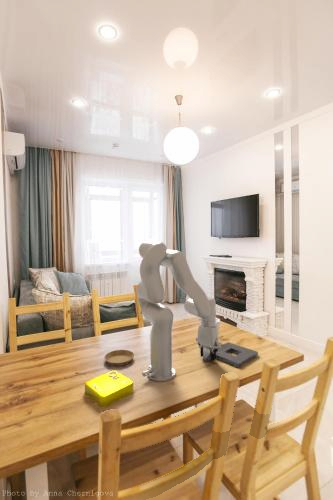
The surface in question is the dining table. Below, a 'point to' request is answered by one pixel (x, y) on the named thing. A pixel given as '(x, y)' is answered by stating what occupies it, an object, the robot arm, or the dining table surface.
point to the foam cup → (217, 324)
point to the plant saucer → (119, 357)
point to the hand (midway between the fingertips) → (208, 357)
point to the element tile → (108, 388)
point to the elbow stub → (207, 354)
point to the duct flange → (239, 359)
